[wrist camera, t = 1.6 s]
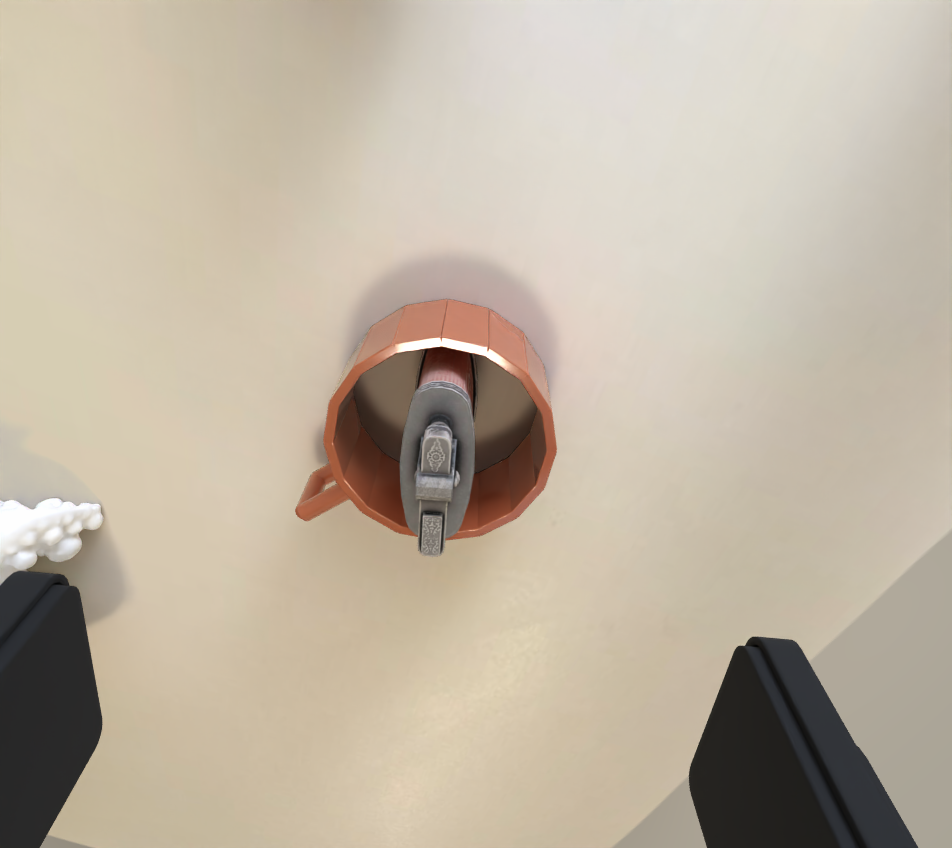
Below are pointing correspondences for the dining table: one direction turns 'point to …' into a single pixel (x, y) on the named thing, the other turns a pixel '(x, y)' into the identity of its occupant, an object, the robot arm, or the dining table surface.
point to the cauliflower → (42, 532)
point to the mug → (378, 475)
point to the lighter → (439, 447)
